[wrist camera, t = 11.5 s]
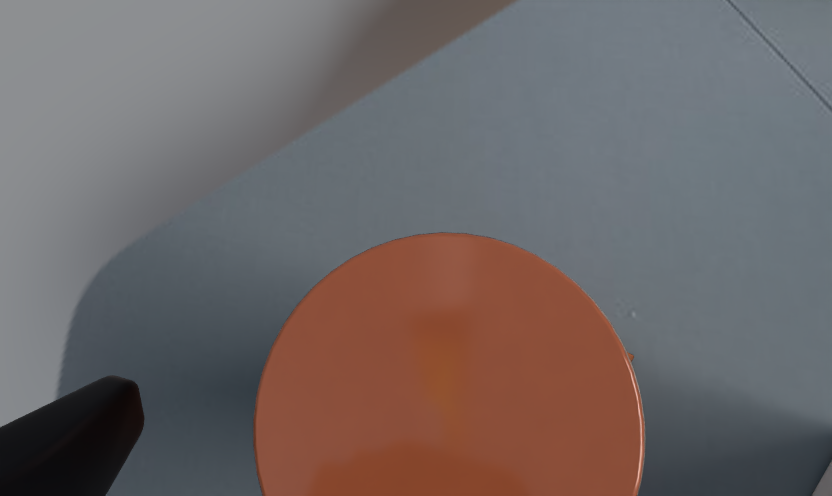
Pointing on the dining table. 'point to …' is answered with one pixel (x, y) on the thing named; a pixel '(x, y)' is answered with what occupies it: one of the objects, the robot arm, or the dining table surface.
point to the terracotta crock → (448, 380)
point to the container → (825, 484)
